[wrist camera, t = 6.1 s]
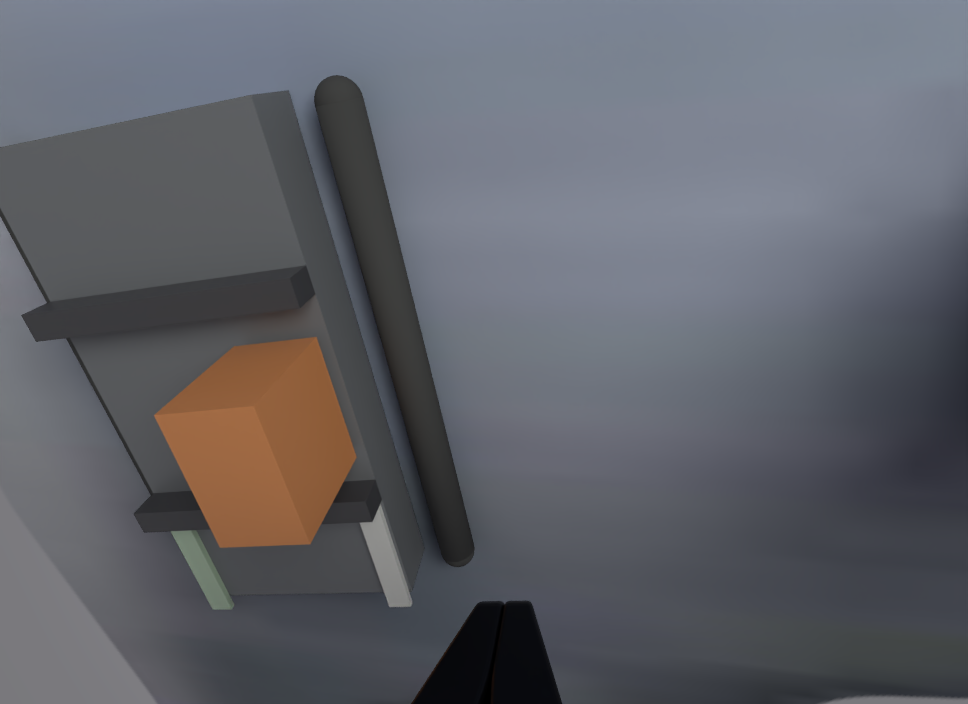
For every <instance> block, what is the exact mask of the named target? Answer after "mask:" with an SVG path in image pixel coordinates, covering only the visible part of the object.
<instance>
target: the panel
mask: <svg viewBox="0 0 968 704" xmlns="http://www.w3.org/2000/svg"><path fill="white" fill-rule="evenodd" d="M0 209H1V210H2V212H3V214H4V216H5V218H6V220H7V222H8V223H9V225H10V227H11V229H12V231H13V233H14V235H15V236H16V238H17V240H18V242H19V244H20V246H21V248H22V250H23V251H24V253H25V255H26V257H27V259H28V261H29V263H30V264H31V266H32V268H33V270H34V272H35V274H36V276H37V277H38V279H39V281H40V283H41V285H42V287H43V289H44V291H45V292H46V294H47V296H48V298H49V300H50V302H49V303H46V304H44V305H42V306H40V307H38V308H36V309H34V310H32V311H29V312H27V313H25V314H23V315H21V316H22V318H23V319H24V321H25V323H26V325H27V326H28V328H29V330H30V332H31V334H32V335H33V337H34V339H35V341H36V342H38V341H46V340H54V339H62V338H70V339H71V341H72V343H73V345H74V346H75V348H76V350H77V352H78V354H79V356H80V358H81V359H82V361H83V363H84V365H85V367H86V369H87V371H88V373H89V374H90V376H91V378H92V380H93V382H94V384H95V386H96V387H97V389H98V391H99V393H100V395H101V397H102V399H103V400H104V402H105V404H106V406H107V408H108V410H109V412H110V414H111V415H112V417H113V419H114V421H115V423H116V425H117V427H118V428H119V430H120V432H121V434H122V436H123V438H124V440H125V441H126V443H127V445H128V447H129V449H130V451H131V453H132V455H133V456H134V458H135V460H136V462H137V464H138V466H139V468H140V469H141V471H142V473H143V475H144V477H145V479H146V481H147V482H148V484H149V486H150V488H151V490H152V492H153V494H152V495H151V496H150V497H149V498H148V499H147V500H146V501H145V502H144V503H143V504H142V505H141V507H140V508H139V509H138V510H137V511H136V512H135V513H134V516H135V517H136V519H137V521H138V523H139V524H140V526H141V528H142V530H143V531H144V533H145V532H166V531H171V533H172V535H173V537H174V539H175V541H176V542H177V544H178V546H179V548H180V550H181V552H182V554H183V555H184V557H185V559H186V561H187V563H188V565H189V566H190V568H191V570H192V572H193V574H194V576H195V578H196V579H197V581H198V583H199V585H200V587H201V589H202V591H203V592H204V594H205V596H206V598H207V600H208V602H209V604H210V605H211V607H212V609H213V610H227V609H232V608H233V607H234V603H233V601H232V599H231V597H230V595H276V594H325V593H374V592H384V593H385V596H386V599H387V602H388V605H389V607H411V605H412V599H411V596H410V593H409V592H412V590H413V586H414V583H415V579H416V576H417V573H418V569H419V566H420V563H421V559H422V556H423V552H424V549H425V548H424V545H423V541H422V538H421V534H420V531H419V528H418V524H417V521H416V518H415V514H414V511H413V508H412V504H411V501H410V497H409V494H408V491H407V487H406V484H405V481H404V477H403V474H402V471H401V467H400V464H399V460H398V457H397V454H396V450H395V447H394V444H393V440H392V437H391V434H390V430H389V427H388V423H387V420H386V417H385V413H384V410H383V407H382V403H381V400H380V397H379V393H378V390H377V386H376V383H375V380H374V376H373V373H372V370H371V366H370V363H369V360H368V356H367V353H366V349H365V346H364V343H363V339H362V336H361V333H360V329H359V326H358V323H357V319H356V316H355V312H354V309H353V306H352V302H351V299H350V296H349V292H348V289H347V286H346V282H345V279H344V276H343V272H342V269H341V265H340V262H339V259H338V255H337V252H336V249H335V245H334V242H333V239H332V235H331V232H330V228H329V225H328V222H327V218H326V215H325V212H324V208H323V205H322V202H321V198H320V195H319V191H318V188H317V185H316V181H315V178H314V175H313V171H312V168H311V165H310V161H309V158H308V154H307V151H306V148H305V144H304V141H303V138H302V134H301V131H300V128H299V124H298V121H297V117H296V114H295V111H294V107H293V104H292V101H291V97H290V94H289V91H281V92H272V93H264V94H255V95H249V96H244V97H239V98H234V99H230V100H225V101H220V102H215V103H211V104H206V105H201V106H196V107H191V108H187V109H182V110H177V111H172V112H168V113H163V114H158V115H153V116H149V117H144V118H139V119H134V120H129V121H125V122H120V123H115V124H110V125H106V126H101V127H96V128H91V129H86V130H82V131H77V132H72V133H67V134H63V135H58V136H53V137H48V138H43V139H39V140H34V141H29V142H24V143H20V144H15V145H10V146H5V147H1V148H0ZM311 337H317V340H318V343H319V346H320V349H321V352H322V355H323V358H324V361H325V364H326V367H327V370H328V373H329V376H330V379H331V382H332V385H333V388H334V391H335V394H336V397H337V400H338V403H339V406H340V409H341V412H342V415H343V418H344V421H345V424H346V427H347V430H348V433H349V436H350V439H351V442H352V445H353V448H354V451H355V454H356V457H357V458H356V459H355V461H354V463H353V465H352V467H351V469H350V471H349V473H348V474H347V476H346V478H345V480H344V482H343V484H342V486H341V488H340V490H339V491H338V493H337V495H336V497H335V499H334V501H333V503H332V505H331V506H330V508H329V510H328V512H327V514H326V516H325V518H324V520H323V521H322V523H321V525H320V527H319V529H318V531H317V533H316V535H315V536H314V538H313V540H312V542H311V544H305V545H279V546H253V547H227V548H220V547H219V545H218V543H217V541H216V539H215V537H214V535H213V533H212V531H211V529H210V527H209V525H208V523H207V521H206V519H205V517H204V515H203V513H202V511H201V509H200V507H199V505H198V503H197V501H196V499H195V497H194V495H193V493H192V491H191V489H190V487H189V485H188V483H187V481H186V479H185V477H184V475H183V473H182V471H181V469H180V467H179V465H178V463H177V461H176V459H175V457H174V455H173V453H172V451H171V449H170V447H169V445H168V443H167V441H166V439H165V437H164V435H163V433H162V431H161V429H160V427H159V425H158V423H157V421H156V419H155V417H154V415H155V414H156V413H157V412H158V411H159V410H161V409H162V408H163V407H164V406H165V405H166V404H167V403H169V402H170V401H171V400H172V399H173V398H174V397H176V396H177V395H178V394H179V393H180V392H181V391H183V390H184V389H185V388H186V387H187V386H188V385H190V384H191V383H192V382H193V381H194V380H195V379H197V378H198V377H199V376H200V375H201V374H202V373H203V372H205V371H206V370H207V369H208V368H209V367H210V366H212V365H213V364H214V363H215V362H216V361H217V360H219V359H220V358H221V357H222V356H223V355H224V354H226V353H227V352H228V351H229V350H230V349H231V348H233V347H234V346H242V345H250V344H259V343H268V342H276V341H285V340H294V339H302V338H311Z"/></svg>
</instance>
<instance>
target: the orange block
mask: <svg viewBox="0 0 968 704" xmlns="http://www.w3.org/2000/svg"><path fill="white" fill-rule="evenodd" d="M154 417H155V419H156V421H157V423H158V425H159V427H160V429H161V431H162V433H163V435H164V437H165V439H166V441H167V443H168V445H169V447H170V449H171V451H172V453H173V455H174V457H175V459H176V461H177V463H178V465H179V467H180V469H181V471H182V473H183V475H184V477H185V479H186V481H187V483H188V485H189V487H190V489H191V491H192V493H193V495H194V497H195V499H196V501H197V503H198V505H199V507H200V509H201V511H202V513H203V515H204V517H205V519H206V521H207V523H208V525H209V527H210V529H211V531H212V533H213V535H214V537H215V539H216V541H217V543H218V545H219V547H220V548H227V547H253V546H279V545H305V544H311V542H312V540H313V538H314V536H315V535H316V533H317V531H318V529H319V527H320V525H321V523H322V521H323V520H324V518H325V516H326V514H327V512H328V510H329V508H330V506H331V505H332V503H333V501H334V499H335V497H336V495H337V493H338V491H339V490H340V488H341V486H342V484H343V482H344V480H345V478H346V476H347V474H348V473H349V471H350V469H351V467H352V465H353V463H354V461H355V459H356V458H357V457H356V454H355V451H354V448H353V445H352V442H351V439H350V436H349V433H348V430H347V427H346V424H345V421H344V418H343V415H342V412H341V409H340V406H339V403H338V400H337V397H336V394H335V391H334V388H333V385H332V382H331V379H330V376H329V373H328V370H327V367H326V364H325V361H324V358H323V355H322V352H321V349H320V346H319V343H318V340H317V337H311V338H302V339H294V340H285V341H276V342H268V343H259V344H250V345H242V346H234V347H233V348H231V349H230V350H229V351H228V352H227V353H226V354H224V355H223V356H222V357H221V358H220V359H219V360H217V361H216V362H215V363H214V364H213V365H212V366H210V367H209V368H208V369H207V370H206V371H205V372H203V373H202V374H201V375H200V376H199V377H198V378H197V379H195V380H194V381H193V382H192V383H191V384H190V385H188V386H187V387H186V388H185V389H184V390H183V391H181V392H180V393H179V394H178V395H177V396H176V397H174V398H173V399H172V400H171V401H170V402H169V403H167V404H166V405H165V406H164V407H163V408H162V409H161V410H159V411H158V412H157V413H156V414H155V415H154Z"/></svg>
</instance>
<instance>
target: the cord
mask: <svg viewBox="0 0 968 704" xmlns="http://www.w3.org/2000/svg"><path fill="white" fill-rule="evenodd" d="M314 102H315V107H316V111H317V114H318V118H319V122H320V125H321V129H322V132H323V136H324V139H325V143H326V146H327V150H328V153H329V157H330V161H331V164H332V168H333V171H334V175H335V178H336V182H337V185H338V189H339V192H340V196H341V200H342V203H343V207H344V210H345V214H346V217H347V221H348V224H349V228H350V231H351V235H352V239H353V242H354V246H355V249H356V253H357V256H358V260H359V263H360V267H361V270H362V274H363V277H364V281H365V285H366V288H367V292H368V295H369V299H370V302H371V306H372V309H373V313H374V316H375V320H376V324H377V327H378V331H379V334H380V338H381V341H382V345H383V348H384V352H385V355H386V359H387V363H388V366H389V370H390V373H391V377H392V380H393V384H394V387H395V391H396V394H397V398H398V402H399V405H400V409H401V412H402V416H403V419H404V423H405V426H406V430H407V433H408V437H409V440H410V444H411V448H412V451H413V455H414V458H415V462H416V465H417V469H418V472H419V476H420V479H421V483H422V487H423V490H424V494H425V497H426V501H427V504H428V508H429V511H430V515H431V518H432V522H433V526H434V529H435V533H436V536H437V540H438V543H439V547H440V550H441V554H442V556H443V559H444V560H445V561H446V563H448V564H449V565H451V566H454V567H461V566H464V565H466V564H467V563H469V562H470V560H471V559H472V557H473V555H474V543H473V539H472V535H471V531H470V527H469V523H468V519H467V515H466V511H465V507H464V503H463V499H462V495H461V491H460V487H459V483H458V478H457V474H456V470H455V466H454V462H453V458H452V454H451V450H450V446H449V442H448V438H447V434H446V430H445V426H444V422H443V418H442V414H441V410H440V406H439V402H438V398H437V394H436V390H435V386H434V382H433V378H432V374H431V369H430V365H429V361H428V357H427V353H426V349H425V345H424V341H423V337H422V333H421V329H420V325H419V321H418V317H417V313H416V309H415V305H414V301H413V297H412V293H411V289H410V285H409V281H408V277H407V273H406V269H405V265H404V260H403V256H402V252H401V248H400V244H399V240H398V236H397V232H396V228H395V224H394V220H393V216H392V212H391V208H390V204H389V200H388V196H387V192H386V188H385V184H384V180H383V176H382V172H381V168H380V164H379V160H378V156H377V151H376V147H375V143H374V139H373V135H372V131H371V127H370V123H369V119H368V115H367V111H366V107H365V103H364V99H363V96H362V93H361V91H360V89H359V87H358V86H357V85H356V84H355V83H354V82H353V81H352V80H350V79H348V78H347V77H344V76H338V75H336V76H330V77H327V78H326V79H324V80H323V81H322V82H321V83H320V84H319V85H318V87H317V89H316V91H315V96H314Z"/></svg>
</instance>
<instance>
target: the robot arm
mask: <svg viewBox="0 0 968 704" xmlns="http://www.w3.org/2000/svg"><path fill="white" fill-rule="evenodd" d="M411 704H562V702H561V698H560V695H559V692H558V688H557V685H556V682H555V678H554V675H553V672H552V668H551V665H550V662H549V658H548V655H547V652H546V649H545V645H544V642H543V639H542V635H541V632H540V629H539V625H538V622H537V619H536V615H535V612H534V609H533V606H532V603H531V602H530V601H508V602H506V604H504V603H503V602H501V601H483V602H480V603H478V604H477V605H476V606H475V607H474V609H473V610H472V612H471V614H470V615H469V617H468V618H467V620H466V621H465V623H464V624H463V626H462V627H461V629H460V630H459V632H458V633H457V635H456V636H455V638H454V639H453V641H452V642H451V644H450V645H449V647H448V649H447V650H446V652H445V653H444V655H443V656H442V658H441V659H440V661H439V662H438V664H437V665H436V667H435V668H434V670H433V671H432V673H431V674H430V676H429V677H428V679H427V681H426V682H425V684H424V685H423V687H422V688H421V690H420V691H419V693H418V694H417V696H416V697H415V699H414V700H413V702H412V703H411Z"/></svg>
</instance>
